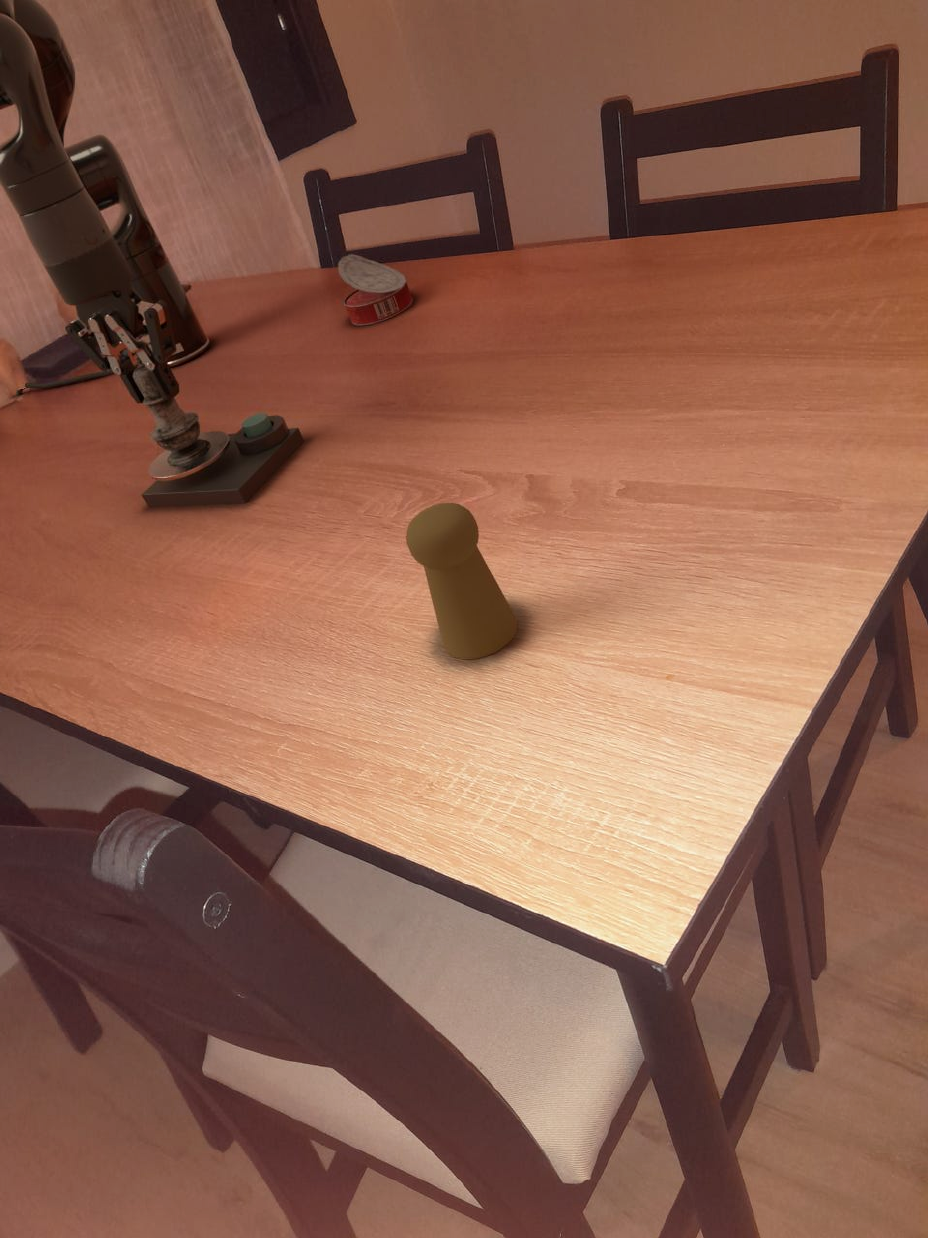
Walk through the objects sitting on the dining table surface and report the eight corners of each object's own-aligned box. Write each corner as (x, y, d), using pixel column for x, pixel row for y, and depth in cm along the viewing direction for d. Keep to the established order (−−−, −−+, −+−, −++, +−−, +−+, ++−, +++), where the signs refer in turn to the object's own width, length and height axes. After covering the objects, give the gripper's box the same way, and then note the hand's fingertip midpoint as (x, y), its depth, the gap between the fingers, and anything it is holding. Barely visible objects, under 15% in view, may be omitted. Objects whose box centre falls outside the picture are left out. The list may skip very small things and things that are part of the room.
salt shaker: (200, 461, 107) (147, 364, 100) (157, 470, 109) (102, 375, 102) (220, 435, 111) (171, 340, 104) (178, 444, 113) (127, 351, 106)
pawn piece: (440, 621, 76) (393, 507, 69) (512, 599, 75) (471, 481, 69) (445, 668, 71) (394, 550, 64) (523, 645, 70) (479, 523, 64)
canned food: (394, 326, 149) (397, 258, 146) (422, 329, 141) (425, 257, 138) (326, 322, 144) (327, 252, 141) (350, 325, 135) (352, 250, 132)
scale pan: (133, 483, 109) (131, 479, 109) (184, 437, 116) (182, 433, 116) (197, 479, 104) (195, 475, 104) (246, 431, 111) (244, 428, 111)
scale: (148, 508, 111) (133, 483, 109) (213, 446, 120) (200, 422, 118) (246, 504, 104) (231, 476, 102) (307, 439, 113) (295, 412, 111)
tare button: (242, 439, 111) (236, 427, 110) (256, 425, 113) (251, 413, 112) (263, 437, 109) (257, 425, 108) (277, 423, 111) (272, 411, 110)
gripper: (148, 219, 95) (225, 375, 105) (54, 243, 102) (135, 387, 112) (100, 249, 90) (185, 410, 100) (5, 272, 97) (94, 420, 107)
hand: (158, 397), depth 106 cm, fingers closed on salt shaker, 3 cm apart
